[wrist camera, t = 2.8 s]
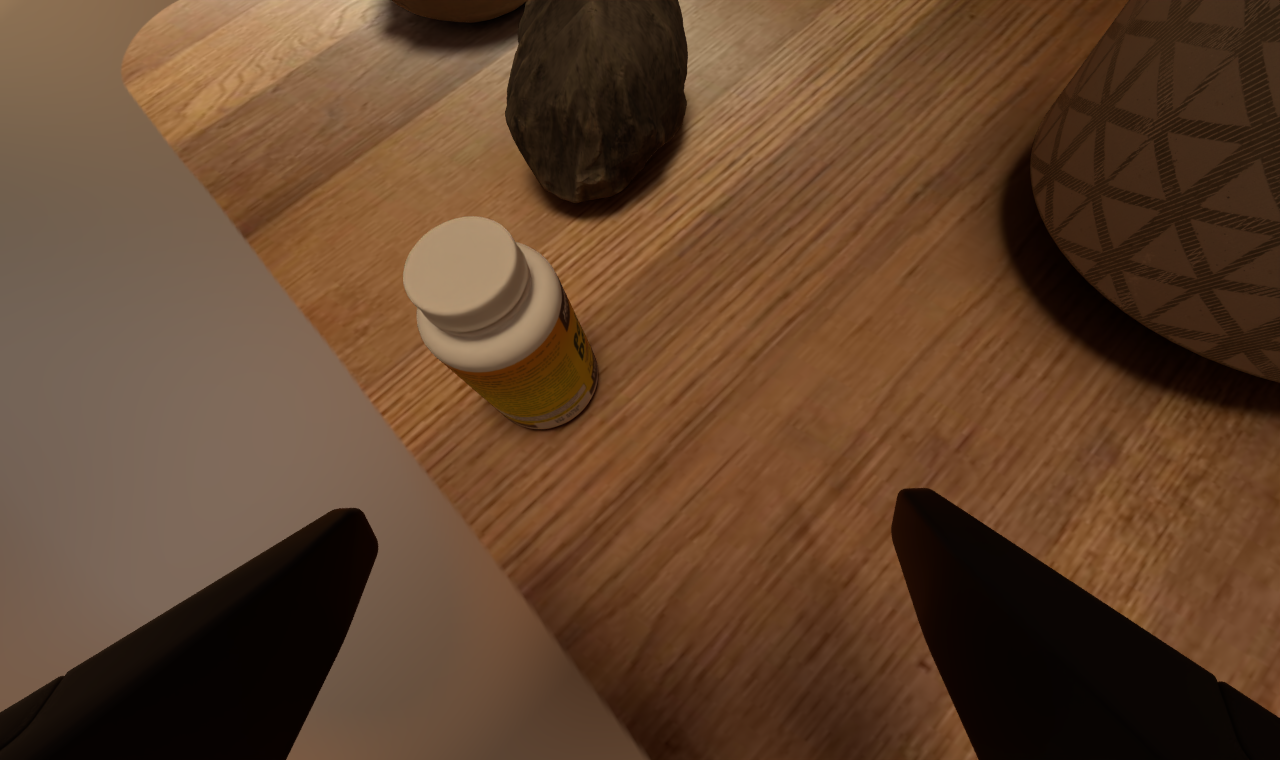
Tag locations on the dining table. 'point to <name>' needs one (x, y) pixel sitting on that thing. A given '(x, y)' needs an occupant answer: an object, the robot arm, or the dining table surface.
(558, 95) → the rock
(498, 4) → the bowl
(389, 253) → the dining table surface
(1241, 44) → the planter
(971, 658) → the robot arm
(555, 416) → the supplement bottle
